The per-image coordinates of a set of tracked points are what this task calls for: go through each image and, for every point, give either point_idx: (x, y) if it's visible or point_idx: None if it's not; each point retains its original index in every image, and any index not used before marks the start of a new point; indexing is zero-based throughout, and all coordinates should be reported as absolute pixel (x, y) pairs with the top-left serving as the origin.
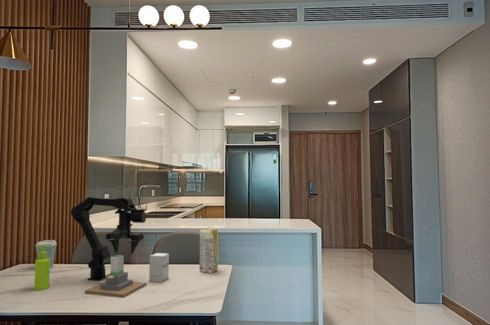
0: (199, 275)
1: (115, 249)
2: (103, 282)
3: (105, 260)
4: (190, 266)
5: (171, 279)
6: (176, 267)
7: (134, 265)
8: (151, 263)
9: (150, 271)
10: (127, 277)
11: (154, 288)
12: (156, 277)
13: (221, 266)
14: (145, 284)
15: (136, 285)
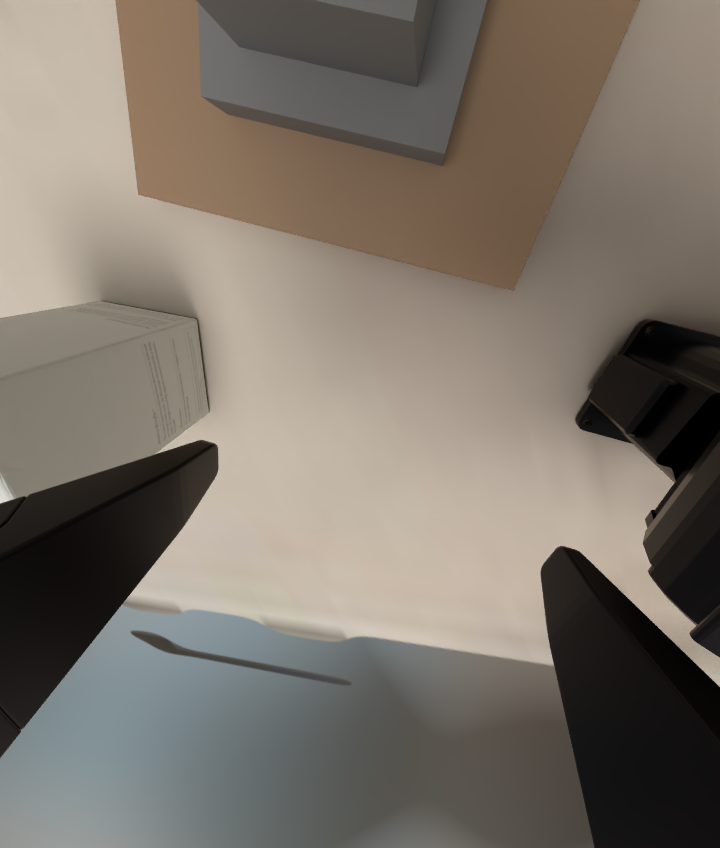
0: None
1: (617, 615)
2: (572, 151)
3: (707, 460)
4: (155, 582)
5: None
6: (206, 577)
7: (441, 637)
8: (42, 352)
9: (129, 333)
10: (216, 15)
11: (39, 95)
12: (116, 312)
13: None
14: (143, 173)
15: (167, 65)
